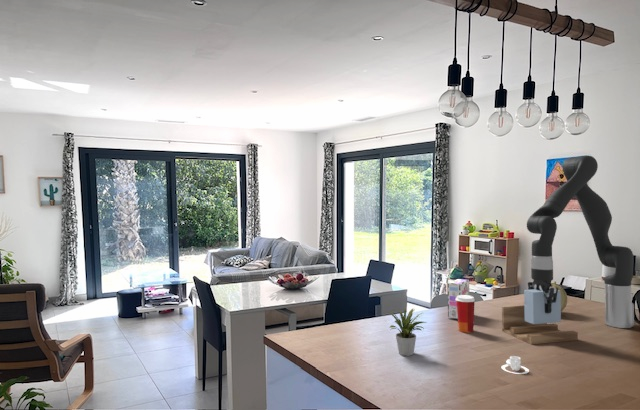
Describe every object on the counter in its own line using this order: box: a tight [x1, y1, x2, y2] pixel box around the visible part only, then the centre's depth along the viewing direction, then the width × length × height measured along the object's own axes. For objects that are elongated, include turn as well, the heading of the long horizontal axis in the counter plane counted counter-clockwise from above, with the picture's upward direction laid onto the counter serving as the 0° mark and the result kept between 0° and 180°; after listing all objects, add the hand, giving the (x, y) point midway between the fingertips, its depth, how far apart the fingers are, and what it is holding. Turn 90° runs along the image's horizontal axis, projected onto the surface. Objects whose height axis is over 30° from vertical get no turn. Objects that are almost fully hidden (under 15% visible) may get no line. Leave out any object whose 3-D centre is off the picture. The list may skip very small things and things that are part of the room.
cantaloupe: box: [551, 281, 568, 312], centre depth 198 cm, size 15×15×15 cm
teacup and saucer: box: [501, 355, 530, 375], centre depth 132 cm, size 9×8×4 cm
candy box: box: [447, 278, 470, 321], centre depth 195 cm, size 14×6×16 cm, turn 143°
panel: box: [523, 289, 562, 324], centre depth 163 cm, size 12×5×12 cm, turn 101°
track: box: [501, 304, 579, 345], centre depth 165 cm, size 17×20×10 cm
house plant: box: [388, 305, 428, 356], centre depth 147 cm, size 14×14×16 cm
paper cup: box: [455, 294, 476, 334], centre depth 173 cm, size 8×8×14 cm
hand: (542, 311), depth 163 cm, fingers closed on panel, 5 cm apart
